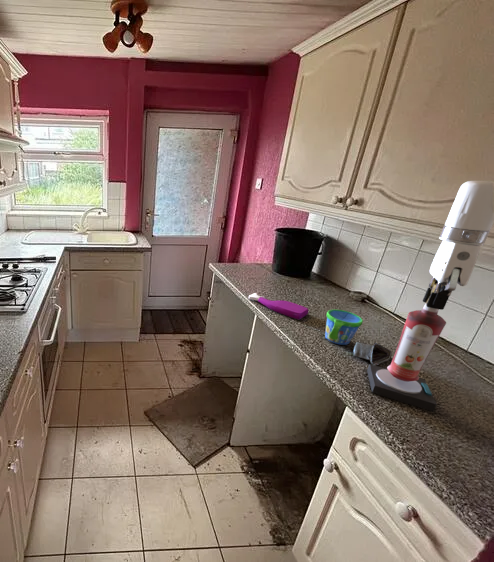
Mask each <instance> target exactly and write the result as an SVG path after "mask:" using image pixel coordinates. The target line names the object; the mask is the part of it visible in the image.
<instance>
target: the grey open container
mask: <svg viewBox="0 0 494 562" xmlns="http://www.w3.org/2000/svg"><path fill="white" fill-rule="evenodd" d="M392 353H393V352H392V350H391V349H389V348H387V347H385V346H383V345H381V344H379V343H377V342H374V343H373V344H369V343H366V342H362V341H361V342H360V341H357V342H355V345H354V347H353V356H354V357H356V358H360V359H363V360H367V361H369V362H370V364H371V365H375V366H378V365H380V364H383V363H384V362H387V361H390V360H391V358H392V356H393V355H392Z"/></svg>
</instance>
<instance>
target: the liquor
mask: <svg viewBox="0 0 494 562" xmlns="http://www.w3.org/2000/svg"><path fill="white" fill-rule="evenodd" d="M436 285H437V284H434V285H433V288H432V290H431V293H432V292H434V290H435V288H436ZM442 286H446V285H441V287H442ZM428 300H429V299H428ZM428 300H427V302H428ZM427 302H426V303H425V304H424V305H423V307H422V309H421V310H420V309H417V310H412V311H409V312H408V314H407V317H406V320H405V322H404V325H403V328H402V331H401V335H400V337H399V341H398V344H397V347H396V349H395V352H394V355H393V357H392V360H391V363H390V364H389V365H388V366H387V367H386V369H388V370H389V372H390V373H391V375H392V376H393V377H395V378H397V379H399V380H402V381H407V382H409V381H416V380H419V378H420V377H419V374H420V372H421V371H422V368H423V367H424V364H425V363H426V360H427V359H428V357H429V355H430V353H431V352H432V350H433V348H434V347H435V345H436V343H437V341H438V339H439V338H440V336H441V334H442V332H443V330H444V328H445V326H446V325H447V321H446V319H444V318H443V317H442V316H441V315H439V314H438V313H439V310H440V309H435V308H429V307H427V306H426V304H427Z"/></svg>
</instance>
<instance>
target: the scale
mask: <svg viewBox="0 0 494 562" xmlns="http://www.w3.org/2000/svg"><path fill="white" fill-rule="evenodd" d="M366 372H367V376H368V381H369V386H370V390H371V394H375V395H377V396H381V397H385V398H388V399H391V400H394V401H397V402H401V403H404V404H408V405H410V406H413V407H417V408H420V409H424V410H427V411H430V412H432V413H433V412H434V411H435V409H436V407H437V402H436V400H435V398H434V396H433V394H432V391H431V389H430V387H429V386H428V385H429V384H428V383H427V381H426V379H425V378H422V377H419V380H416V381H409V382H407V381H402V380H399V379H397V378H395V377H393V376H392V375H391V373H390V372H389V370H388V369H387V367H381V366H378V365H373V364H371V363H369V364H368V367H367V370H366Z"/></svg>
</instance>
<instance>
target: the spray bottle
mask: <svg viewBox="0 0 494 562" xmlns="http://www.w3.org/2000/svg"><path fill="white" fill-rule="evenodd" d="M248 300H253V301H257V303H259V304H261V305H263V306H264V307H266V308H268V309H269V310H271V311H273V312H275V313H277V314H280V315H283V316H286V317H287V318H292V319H295V320H301V319H302V318H305V317H306V316H308V314H309V308H307V307H305V306H303V305H300V304H298V303H295V302H292V301H289V300H284V299H283V300H280V299H279V300H271V299H268V298H265V296H262V295H259V294H258V292H254V293H252V294H249V295H248Z"/></svg>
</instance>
